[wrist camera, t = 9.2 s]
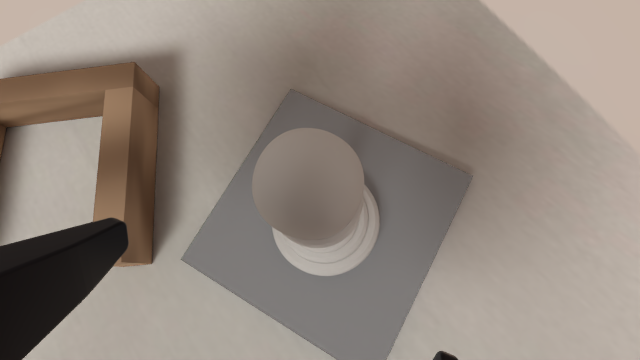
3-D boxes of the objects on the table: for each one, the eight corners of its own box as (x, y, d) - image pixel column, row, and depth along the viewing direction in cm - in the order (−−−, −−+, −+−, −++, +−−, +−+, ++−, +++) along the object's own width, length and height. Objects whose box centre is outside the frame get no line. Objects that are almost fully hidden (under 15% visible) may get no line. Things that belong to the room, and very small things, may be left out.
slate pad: (374, 381, 15) (375, 383, 15) (184, 259, 17) (180, 259, 17) (470, 178, 17) (473, 176, 17) (291, 92, 20) (291, 88, 19)
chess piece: (258, 254, 17) (166, 234, 8) (295, 158, 18) (251, 53, 9) (359, 292, 16) (378, 316, 7) (391, 189, 17) (440, 106, 9)
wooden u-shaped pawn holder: (151, 263, 17) (120, 262, 15) (-49, 284, 18) (-110, 285, 15) (159, 87, 20) (134, 62, 18) (-13, 108, 21) (-60, 86, 18)
